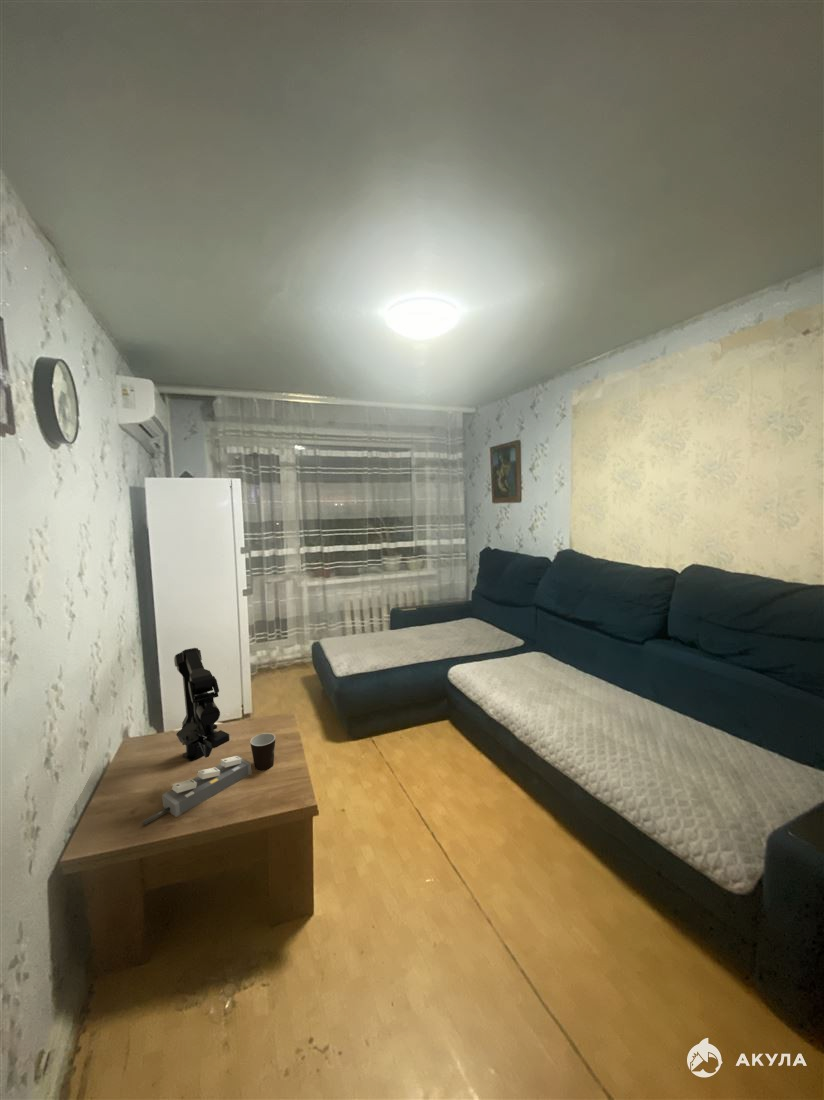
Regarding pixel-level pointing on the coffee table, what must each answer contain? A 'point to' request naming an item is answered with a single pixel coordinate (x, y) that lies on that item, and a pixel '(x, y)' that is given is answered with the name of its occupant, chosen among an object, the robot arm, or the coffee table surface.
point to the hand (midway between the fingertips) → (206, 756)
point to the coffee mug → (263, 751)
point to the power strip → (202, 790)
